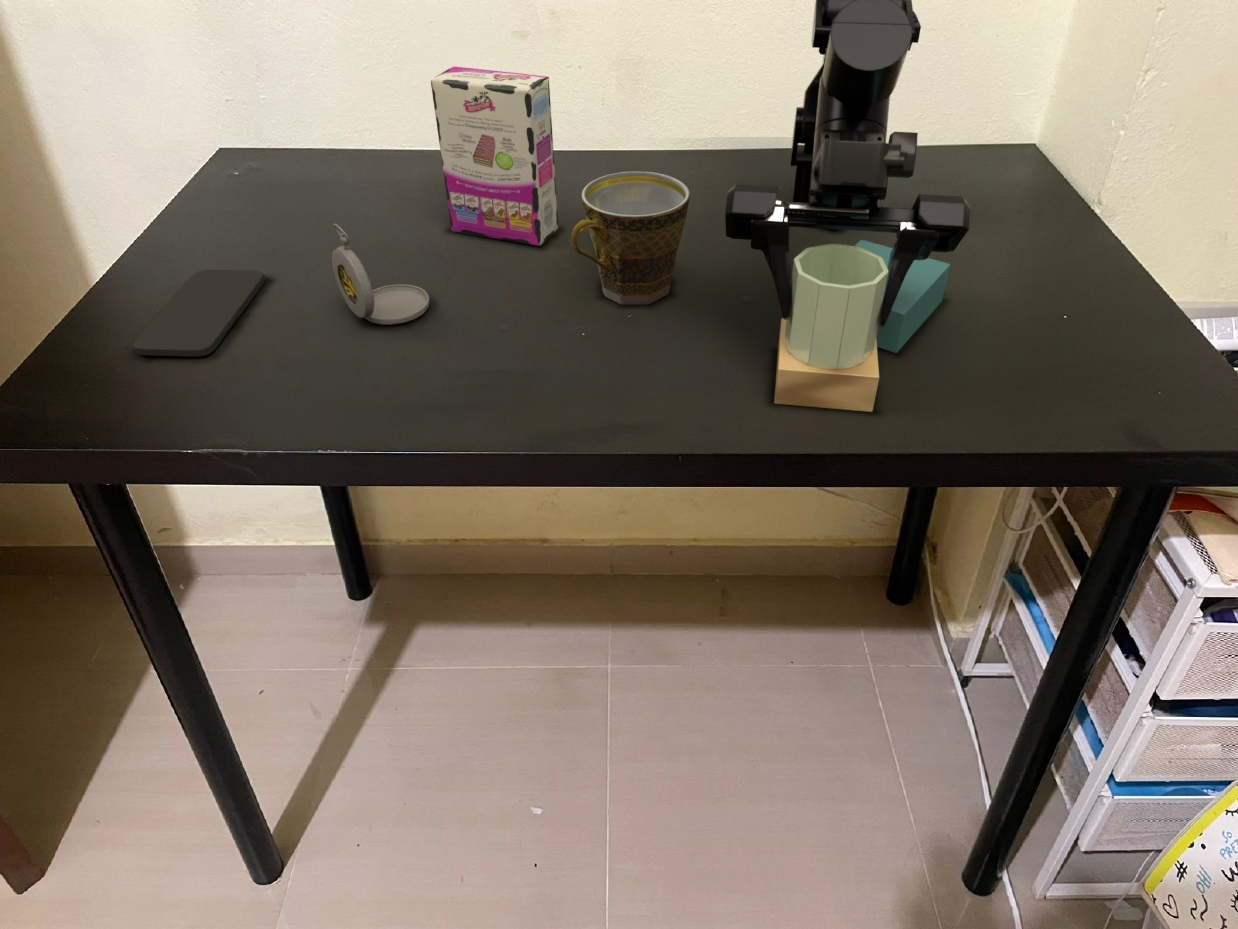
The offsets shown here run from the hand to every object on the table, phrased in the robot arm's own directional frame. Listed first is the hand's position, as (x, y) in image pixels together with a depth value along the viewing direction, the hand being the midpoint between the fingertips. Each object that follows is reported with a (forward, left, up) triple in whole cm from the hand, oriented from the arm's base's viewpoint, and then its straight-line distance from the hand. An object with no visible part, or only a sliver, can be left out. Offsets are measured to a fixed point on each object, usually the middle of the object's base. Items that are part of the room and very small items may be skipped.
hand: (833, 322), depth 75 cm
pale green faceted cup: (-1, +1, -3) cm, 3 cm away
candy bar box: (-42, +8, -7) cm, 43 cm away
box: (-2, +14, -7) cm, 16 cm away
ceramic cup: (-23, +4, -7) cm, 24 cm away
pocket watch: (-40, -12, -7) cm, 42 cm away
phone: (-54, -22, -7) cm, 59 cm away
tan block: (-1, +1, -7) cm, 7 cm away
